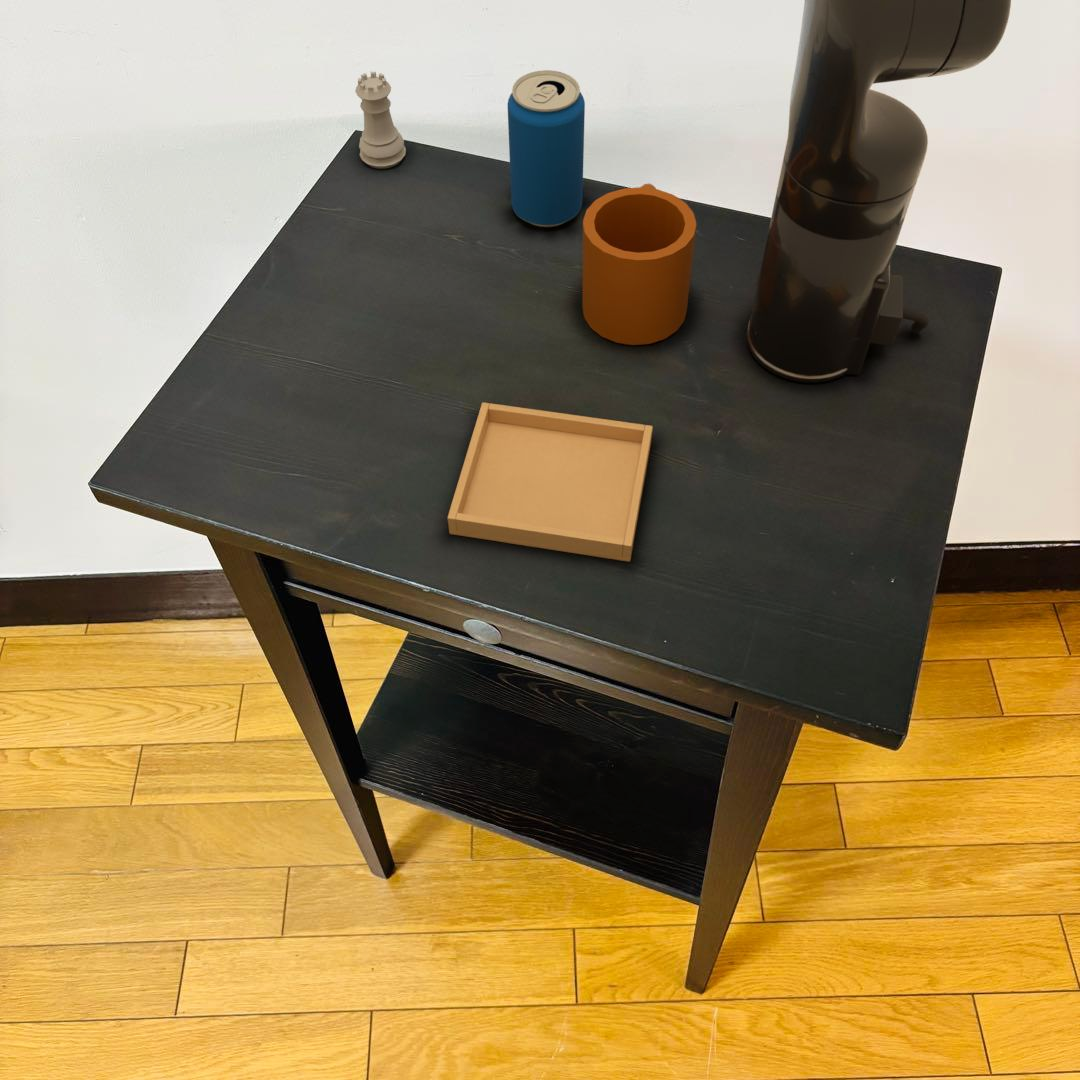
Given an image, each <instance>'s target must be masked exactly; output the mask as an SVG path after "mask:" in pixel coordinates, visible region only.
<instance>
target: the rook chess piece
mask: <svg viewBox="0 0 1080 1080" xmlns="http://www.w3.org/2000/svg"><path fill="white" fill-rule="evenodd" d="M360 77H361V78H360ZM360 77H359V78H357V85H356V87H355V91H354V92H355V93H356V96H357V97H358V98H359V99H360V100H361V102H360V105H359V106H360V109H361V111H363V127H364V128H363V131H361V136H360V137H359V144H358V148H359V150H360V151H359V157H360V159H361V161H362V162H364V164H366V165H367V166H369V167H371V168H373V169H378V170H379V169H380V170H381V169H389V168H393V167H395V166H397V165H399V164H400V162H401V161H403V159H404V157H405V156H406V152H407V148H406V146H405V140H404V137H403V136H402V134H401V132H399V130H398V129H397V127H396V126H395V125H394V122H393V118H392V115H391V109H390V107H391V105H392V102H391V100H390V98H388V96H389V95H390V93H391V91H392V86H391V84H390V83H389V82H388V81H387V78H386V77H385V74H383V73H381V72H379V73H378V76H377V71H370V76H368V74H367V73H366V72H364V73H363V74H361V75H360Z"/></svg>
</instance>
